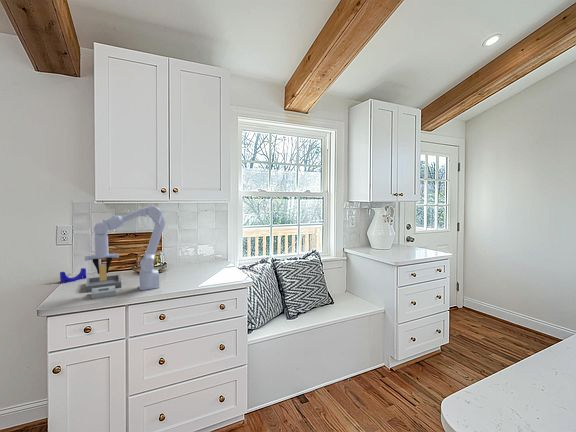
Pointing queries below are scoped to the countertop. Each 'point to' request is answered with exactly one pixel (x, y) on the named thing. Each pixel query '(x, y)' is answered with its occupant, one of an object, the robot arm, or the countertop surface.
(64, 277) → the cable clip
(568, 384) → the countertop surface
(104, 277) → the fuse
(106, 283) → the tray
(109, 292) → the fuse holder
